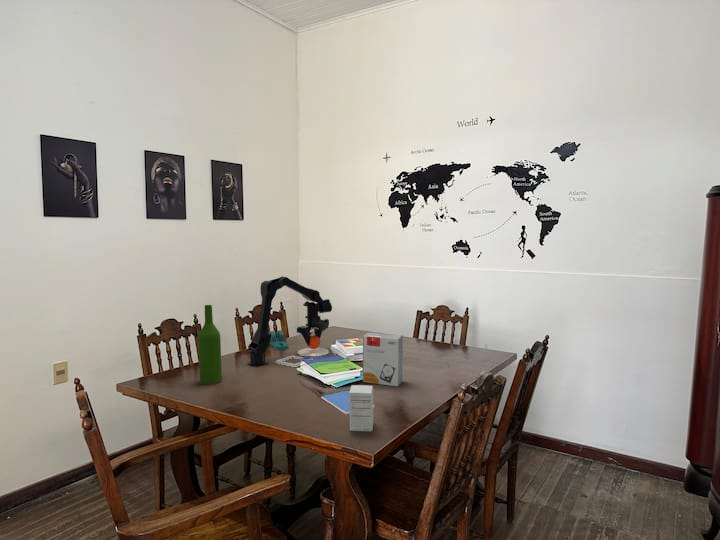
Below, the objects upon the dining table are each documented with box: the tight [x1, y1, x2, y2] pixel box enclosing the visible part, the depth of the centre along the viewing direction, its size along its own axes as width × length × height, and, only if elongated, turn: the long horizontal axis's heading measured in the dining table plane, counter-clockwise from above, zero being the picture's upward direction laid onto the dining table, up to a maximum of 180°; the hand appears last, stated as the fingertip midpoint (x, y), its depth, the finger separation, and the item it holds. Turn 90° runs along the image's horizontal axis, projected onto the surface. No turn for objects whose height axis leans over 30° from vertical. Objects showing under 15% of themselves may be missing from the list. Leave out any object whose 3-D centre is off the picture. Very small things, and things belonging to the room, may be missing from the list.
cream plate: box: [297, 347, 330, 357], centre depth 247 cm, size 16×16×1 cm
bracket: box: [268, 329, 289, 351], centre depth 262 cm, size 18×7×8 cm, turn 24°
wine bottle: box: [197, 304, 223, 385], centre depth 201 cm, size 9×9×32 cm
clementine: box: [307, 334, 321, 349], centre depth 246 cm, size 8×7×7 cm
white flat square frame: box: [275, 355, 303, 368], centre depth 229 cm, size 11×12×2 cm
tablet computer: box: [320, 390, 375, 415], centre depth 176 cm, size 19×13×1 cm, turn 32°
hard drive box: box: [362, 332, 404, 387], centre depth 199 cm, size 16×8×20 cm, turn 70°
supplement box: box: [348, 384, 374, 432], centre depth 154 cm, size 7×7×13 cm
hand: (313, 343), depth 247 cm, fingers closed on clementine, 7 cm apart
